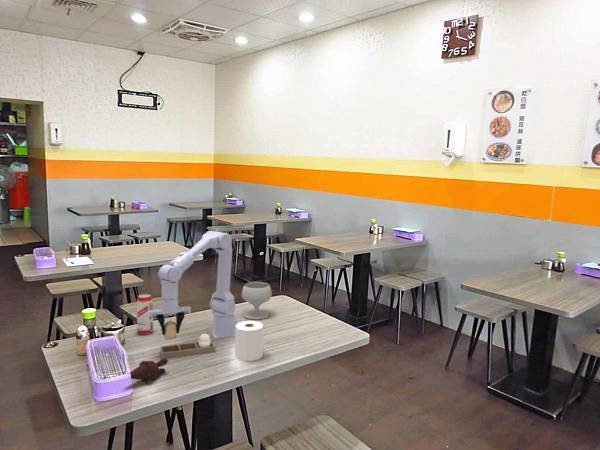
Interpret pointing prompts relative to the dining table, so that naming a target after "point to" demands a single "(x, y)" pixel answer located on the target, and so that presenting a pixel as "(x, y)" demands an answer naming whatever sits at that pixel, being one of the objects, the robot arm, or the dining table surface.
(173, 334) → the tan egg
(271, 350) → the dining table surface
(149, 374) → the brown plush toy
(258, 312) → the chalice
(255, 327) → the toilet paper
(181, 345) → the egg carton
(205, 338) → the cream egg
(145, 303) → the beer can
